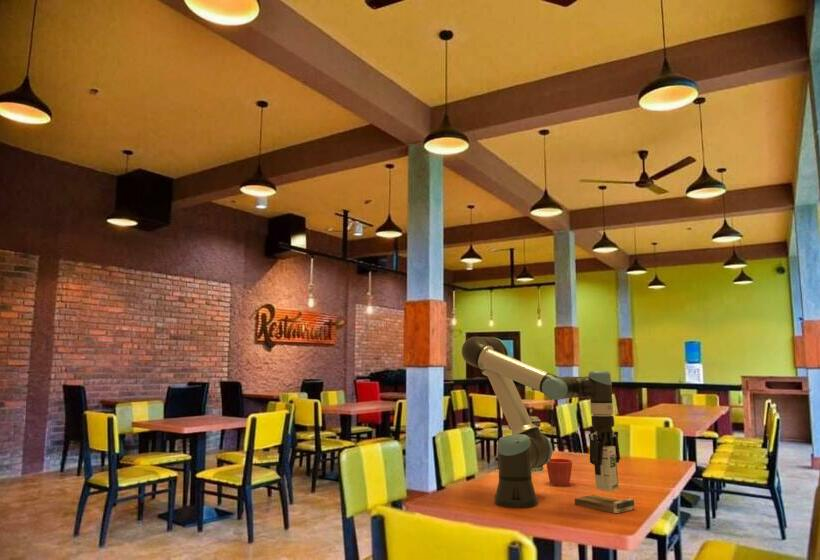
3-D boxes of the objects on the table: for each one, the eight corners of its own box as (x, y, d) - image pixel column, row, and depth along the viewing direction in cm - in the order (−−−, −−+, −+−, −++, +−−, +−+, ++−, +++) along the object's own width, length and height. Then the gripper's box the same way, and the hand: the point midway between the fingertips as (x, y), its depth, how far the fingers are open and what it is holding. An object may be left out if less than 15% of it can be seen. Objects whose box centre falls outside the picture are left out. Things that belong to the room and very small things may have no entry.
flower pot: (570, 481, 247) (569, 458, 248) (575, 487, 236) (574, 462, 237) (545, 481, 248) (544, 458, 249) (548, 487, 237) (547, 462, 238)
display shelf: (617, 513, 192) (616, 502, 193) (575, 504, 206) (574, 494, 207) (635, 509, 198) (634, 498, 199) (592, 500, 212) (592, 490, 212)
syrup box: (612, 491, 198) (609, 447, 200) (595, 489, 202) (592, 446, 204) (618, 488, 202) (616, 445, 204) (602, 486, 206) (599, 444, 208)
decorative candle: (532, 469, 278) (530, 415, 282) (548, 471, 271) (546, 416, 274) (520, 471, 272) (518, 416, 276) (536, 474, 265) (533, 417, 269)
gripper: (593, 417, 197) (598, 488, 193) (628, 414, 208) (633, 481, 205) (575, 416, 203) (579, 485, 200) (610, 413, 214) (614, 478, 211)
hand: (606, 483), depth 202 cm, fingers closed on syrup box, 6 cm apart
